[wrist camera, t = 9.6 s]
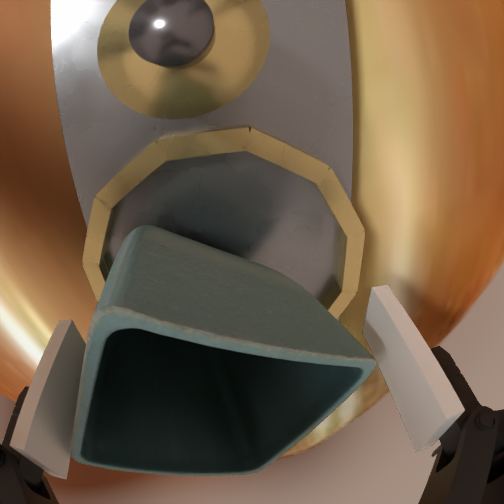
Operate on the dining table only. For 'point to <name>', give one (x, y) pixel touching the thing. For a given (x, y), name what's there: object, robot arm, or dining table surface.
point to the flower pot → (206, 362)
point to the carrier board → (214, 131)
